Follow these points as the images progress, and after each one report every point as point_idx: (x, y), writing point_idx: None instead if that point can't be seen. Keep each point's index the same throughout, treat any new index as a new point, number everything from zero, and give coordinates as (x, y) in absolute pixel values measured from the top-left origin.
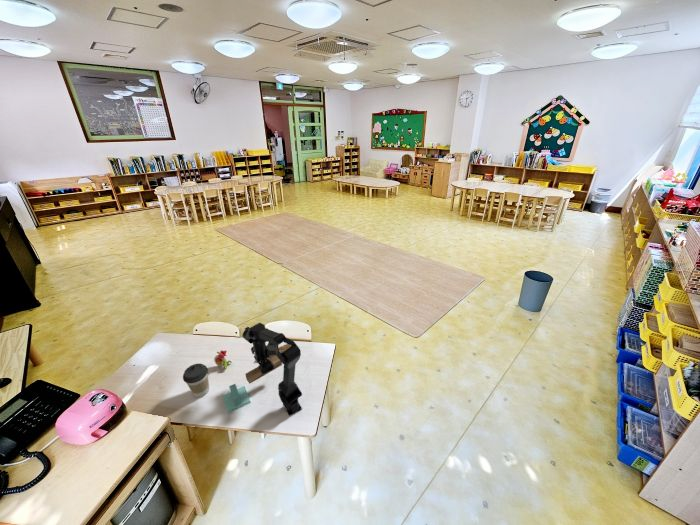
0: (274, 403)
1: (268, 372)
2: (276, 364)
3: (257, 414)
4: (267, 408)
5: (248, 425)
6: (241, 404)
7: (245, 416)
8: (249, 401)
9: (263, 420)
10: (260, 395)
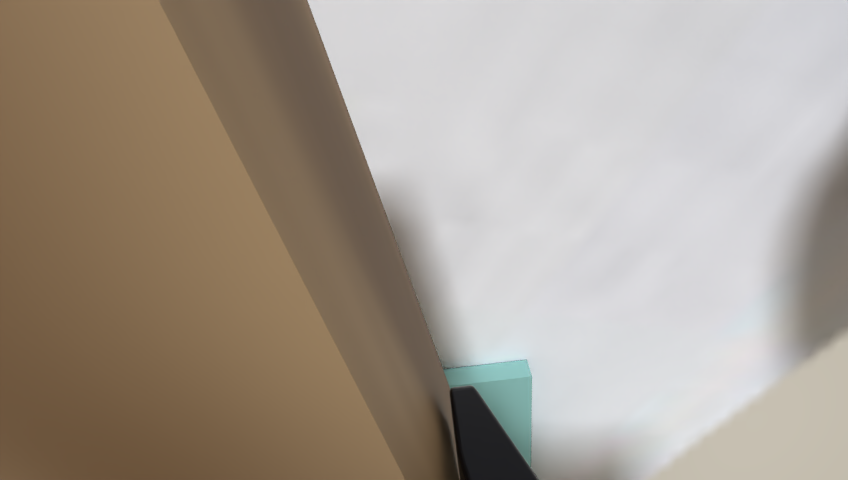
0: (728, 138)
1: (419, 309)
2: (265, 39)
3: (716, 322)
4: (728, 227)
5: (761, 391)
6: (523, 436)
7: (653, 403)
8: (531, 381)
9: (831, 284)
10: (492, 267)
